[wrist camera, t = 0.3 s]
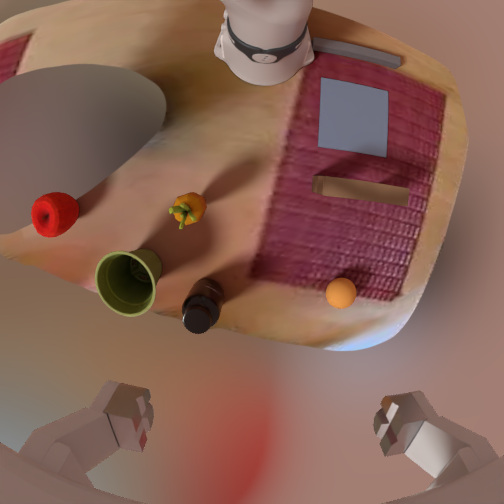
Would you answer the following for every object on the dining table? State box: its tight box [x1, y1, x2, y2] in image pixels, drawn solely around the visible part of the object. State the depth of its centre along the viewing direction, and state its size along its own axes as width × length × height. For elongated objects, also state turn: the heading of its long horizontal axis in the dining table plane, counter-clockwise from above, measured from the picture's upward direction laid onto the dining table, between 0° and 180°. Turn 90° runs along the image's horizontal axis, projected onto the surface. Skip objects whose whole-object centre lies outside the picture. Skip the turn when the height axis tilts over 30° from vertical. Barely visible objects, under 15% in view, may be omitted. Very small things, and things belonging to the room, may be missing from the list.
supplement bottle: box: [182, 279, 224, 334], centre depth 53 cm, size 7×7×12 cm
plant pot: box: [95, 249, 162, 317], centre depth 51 cm, size 12×12×11 cm
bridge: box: [312, 176, 409, 206], centre depth 48 cm, size 3×15×10 cm, turn 86°
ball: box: [326, 278, 356, 309], centre depth 55 cm, size 6×6×6 cm
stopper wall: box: [312, 37, 401, 69], centre depth 44 cm, size 2×18×2 cm, turn 86°
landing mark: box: [318, 77, 388, 158], centre depth 49 cm, size 14×14×1 cm
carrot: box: [169, 192, 207, 229], centre depth 46 cm, size 5×5×15 cm
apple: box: [31, 192, 79, 237], centre depth 49 cm, size 9×9×11 cm
